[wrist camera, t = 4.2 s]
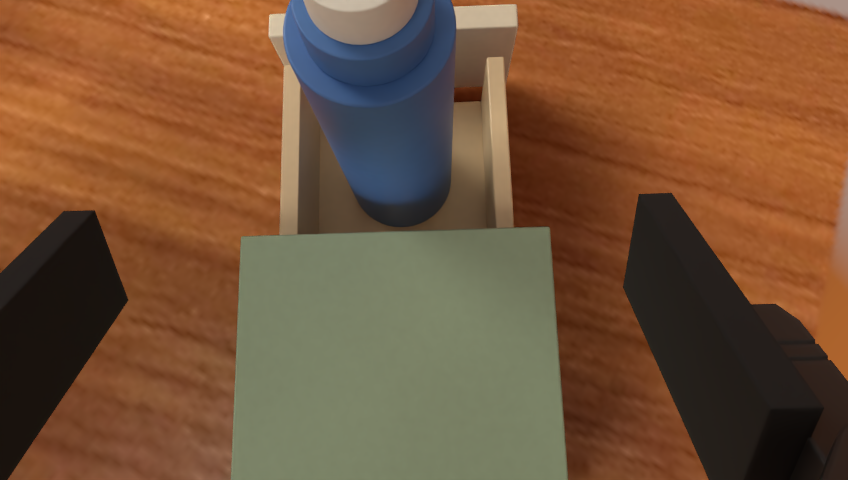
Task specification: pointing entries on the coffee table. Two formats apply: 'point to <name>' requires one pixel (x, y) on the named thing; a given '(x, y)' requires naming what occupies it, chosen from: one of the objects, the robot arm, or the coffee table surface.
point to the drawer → (471, 144)
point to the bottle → (381, 96)
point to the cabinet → (398, 357)
